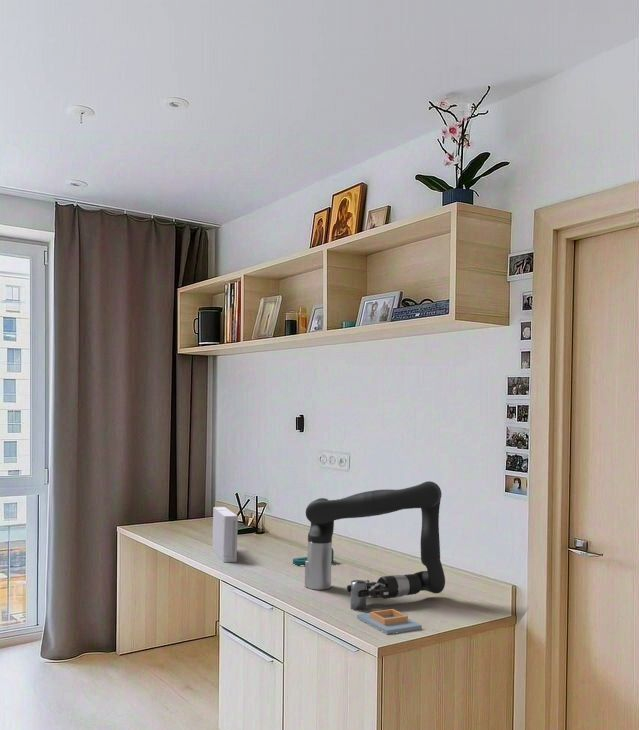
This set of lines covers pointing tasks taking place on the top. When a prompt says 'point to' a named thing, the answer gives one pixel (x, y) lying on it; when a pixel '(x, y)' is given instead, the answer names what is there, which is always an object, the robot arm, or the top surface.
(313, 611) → the top surface
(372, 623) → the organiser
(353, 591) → the grey capped cylinder
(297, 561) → the bracket
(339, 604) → the top surface
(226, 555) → the game console
